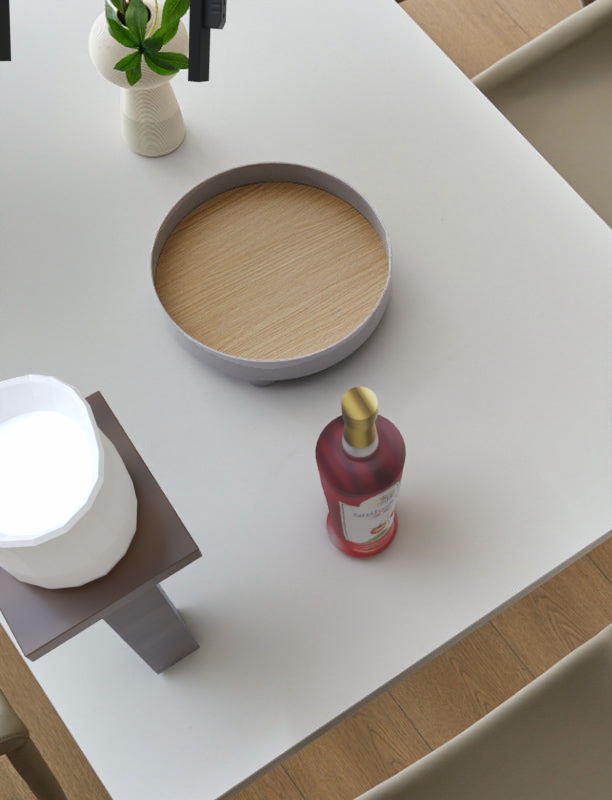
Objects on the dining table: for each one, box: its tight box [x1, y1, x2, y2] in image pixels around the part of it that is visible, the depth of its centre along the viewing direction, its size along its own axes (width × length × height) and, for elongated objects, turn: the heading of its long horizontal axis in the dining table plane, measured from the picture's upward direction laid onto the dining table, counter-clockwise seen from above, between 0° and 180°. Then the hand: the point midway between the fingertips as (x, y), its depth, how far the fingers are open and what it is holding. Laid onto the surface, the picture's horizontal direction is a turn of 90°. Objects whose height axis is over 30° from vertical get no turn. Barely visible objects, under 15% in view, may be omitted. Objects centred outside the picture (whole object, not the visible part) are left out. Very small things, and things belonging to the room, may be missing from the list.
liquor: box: [314, 386, 407, 558], centre depth 86 cm, size 7×7×28 cm
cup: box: [0, 373, 137, 589], centre depth 58 cm, size 10×10×10 cm
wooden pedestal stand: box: [0, 390, 203, 675], centre depth 78 cm, size 13×12×35 cm
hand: (97, 71), depth 68 cm, fingers open, 13 cm apart
